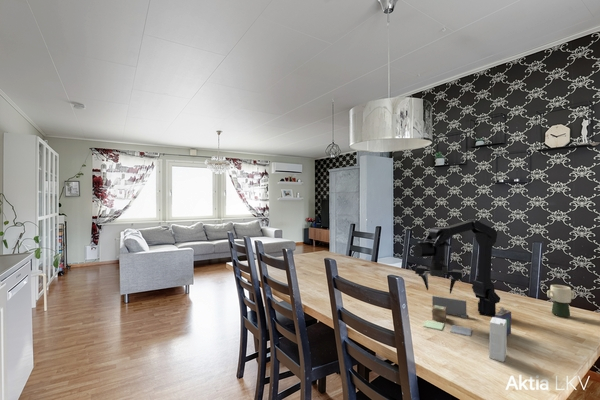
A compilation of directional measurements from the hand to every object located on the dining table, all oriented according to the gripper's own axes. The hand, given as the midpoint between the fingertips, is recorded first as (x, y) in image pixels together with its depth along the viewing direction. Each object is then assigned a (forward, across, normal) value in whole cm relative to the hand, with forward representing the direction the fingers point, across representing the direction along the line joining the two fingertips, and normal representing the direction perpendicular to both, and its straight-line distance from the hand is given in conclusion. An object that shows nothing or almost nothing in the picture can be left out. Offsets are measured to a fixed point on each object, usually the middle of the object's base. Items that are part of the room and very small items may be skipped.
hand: (438, 291), depth 132 cm
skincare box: (+12, +21, -25) cm, 35 cm away
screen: (+12, +3, +9) cm, 15 cm away
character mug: (+12, +46, +32) cm, 57 cm away
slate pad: (+12, +9, -9) cm, 17 cm away
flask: (+12, +23, -5) cm, 27 cm away
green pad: (+12, -1, -9) cm, 15 cm away
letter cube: (+12, 0, 0) cm, 12 cm away
